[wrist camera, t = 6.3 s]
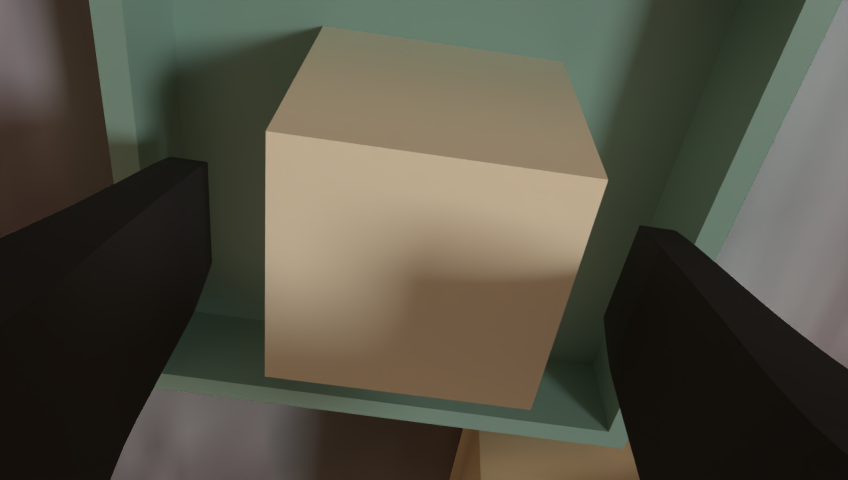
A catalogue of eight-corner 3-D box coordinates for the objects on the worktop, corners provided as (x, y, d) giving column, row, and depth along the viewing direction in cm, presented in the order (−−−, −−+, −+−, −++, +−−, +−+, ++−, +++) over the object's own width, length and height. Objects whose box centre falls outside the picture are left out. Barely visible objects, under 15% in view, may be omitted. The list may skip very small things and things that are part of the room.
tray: (795, -90, 11) (871, -61, 9) (603, 370, 18) (623, 448, 15) (137, -203, 11) (61, -199, 9) (179, 313, 17) (141, 386, 15)
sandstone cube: (563, 61, 13) (608, 179, 9) (512, 255, 15) (530, 410, 11) (323, 25, 12) (265, 130, 9) (312, 227, 15) (264, 375, 11)
